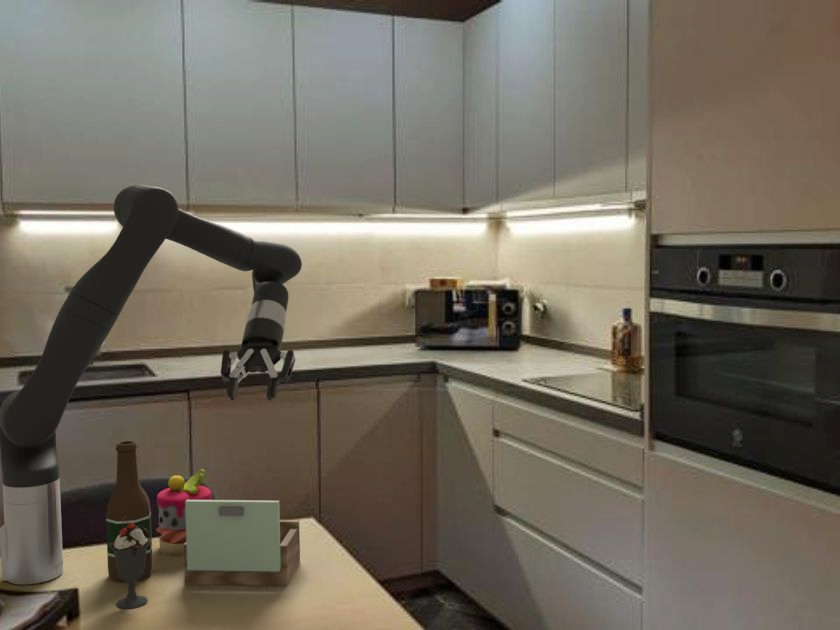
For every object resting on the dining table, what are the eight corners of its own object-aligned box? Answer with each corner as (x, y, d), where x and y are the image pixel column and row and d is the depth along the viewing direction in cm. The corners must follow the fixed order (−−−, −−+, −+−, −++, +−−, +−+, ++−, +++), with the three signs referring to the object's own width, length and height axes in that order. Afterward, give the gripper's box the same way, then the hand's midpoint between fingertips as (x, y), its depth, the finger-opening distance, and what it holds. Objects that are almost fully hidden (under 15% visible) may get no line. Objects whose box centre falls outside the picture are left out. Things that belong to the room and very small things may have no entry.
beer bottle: (139, 584, 151) (135, 448, 150) (98, 581, 153) (93, 446, 151) (161, 568, 159) (157, 438, 157) (122, 565, 161) (118, 437, 159)
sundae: (114, 614, 139) (110, 522, 138) (108, 599, 145) (104, 510, 144) (156, 606, 142) (153, 515, 141) (148, 592, 148) (146, 505, 147)
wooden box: (184, 583, 152) (183, 538, 151) (204, 560, 163) (203, 518, 162) (287, 585, 151) (286, 540, 150) (300, 562, 162) (299, 519, 161)
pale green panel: (185, 573, 149) (183, 502, 148) (189, 570, 151) (187, 499, 150) (278, 575, 148) (277, 503, 147) (280, 571, 150) (279, 500, 149)
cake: (165, 560, 164) (163, 481, 162) (152, 543, 173) (149, 469, 171) (220, 550, 169) (218, 473, 168) (204, 534, 178) (202, 462, 177)
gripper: (224, 316, 170) (207, 386, 159) (297, 315, 169) (285, 386, 158) (233, 340, 176) (217, 409, 165) (303, 340, 175) (292, 409, 164)
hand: (250, 397), depth 162 cm, fingers open, 6 cm apart
